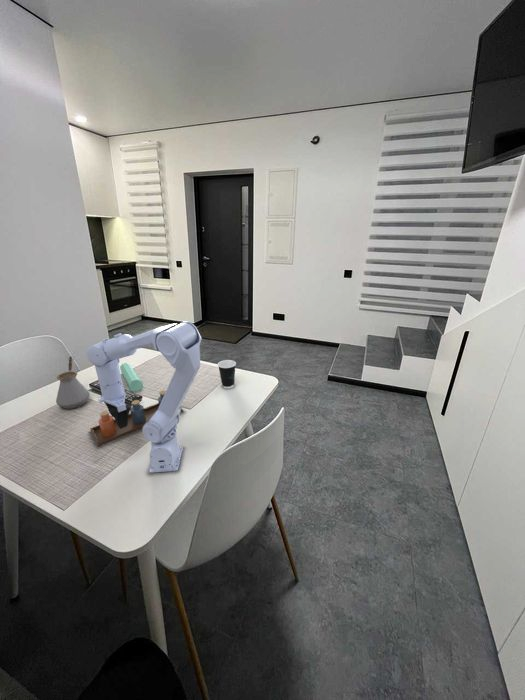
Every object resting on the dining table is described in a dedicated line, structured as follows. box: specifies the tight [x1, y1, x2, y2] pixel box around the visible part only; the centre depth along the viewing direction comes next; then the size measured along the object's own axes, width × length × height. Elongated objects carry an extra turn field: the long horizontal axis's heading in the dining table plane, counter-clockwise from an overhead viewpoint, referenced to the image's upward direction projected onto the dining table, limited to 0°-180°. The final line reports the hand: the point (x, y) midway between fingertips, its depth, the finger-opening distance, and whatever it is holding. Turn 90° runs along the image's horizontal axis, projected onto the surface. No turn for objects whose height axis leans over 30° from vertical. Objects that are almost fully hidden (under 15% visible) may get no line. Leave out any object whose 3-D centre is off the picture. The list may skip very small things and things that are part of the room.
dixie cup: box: [217, 359, 237, 389], centre depth 126 cm, size 8×8×11 cm
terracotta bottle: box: [97, 410, 116, 437], centre depth 96 cm, size 4×4×8 cm
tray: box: [89, 402, 184, 447], centre depth 103 cm, size 29×10×2 cm, turn 131°
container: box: [119, 362, 144, 393], centre depth 132 cm, size 6×6×25 cm
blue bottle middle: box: [129, 399, 146, 425], centre depth 102 cm, size 4×4×8 cm
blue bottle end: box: [157, 390, 166, 406], centre depth 108 cm, size 4×4×8 cm
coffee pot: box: [55, 356, 91, 410], centre depth 116 cm, size 21×12×15 cm, turn 25°
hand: (119, 420), depth 87 cm, fingers open, 7 cm apart
